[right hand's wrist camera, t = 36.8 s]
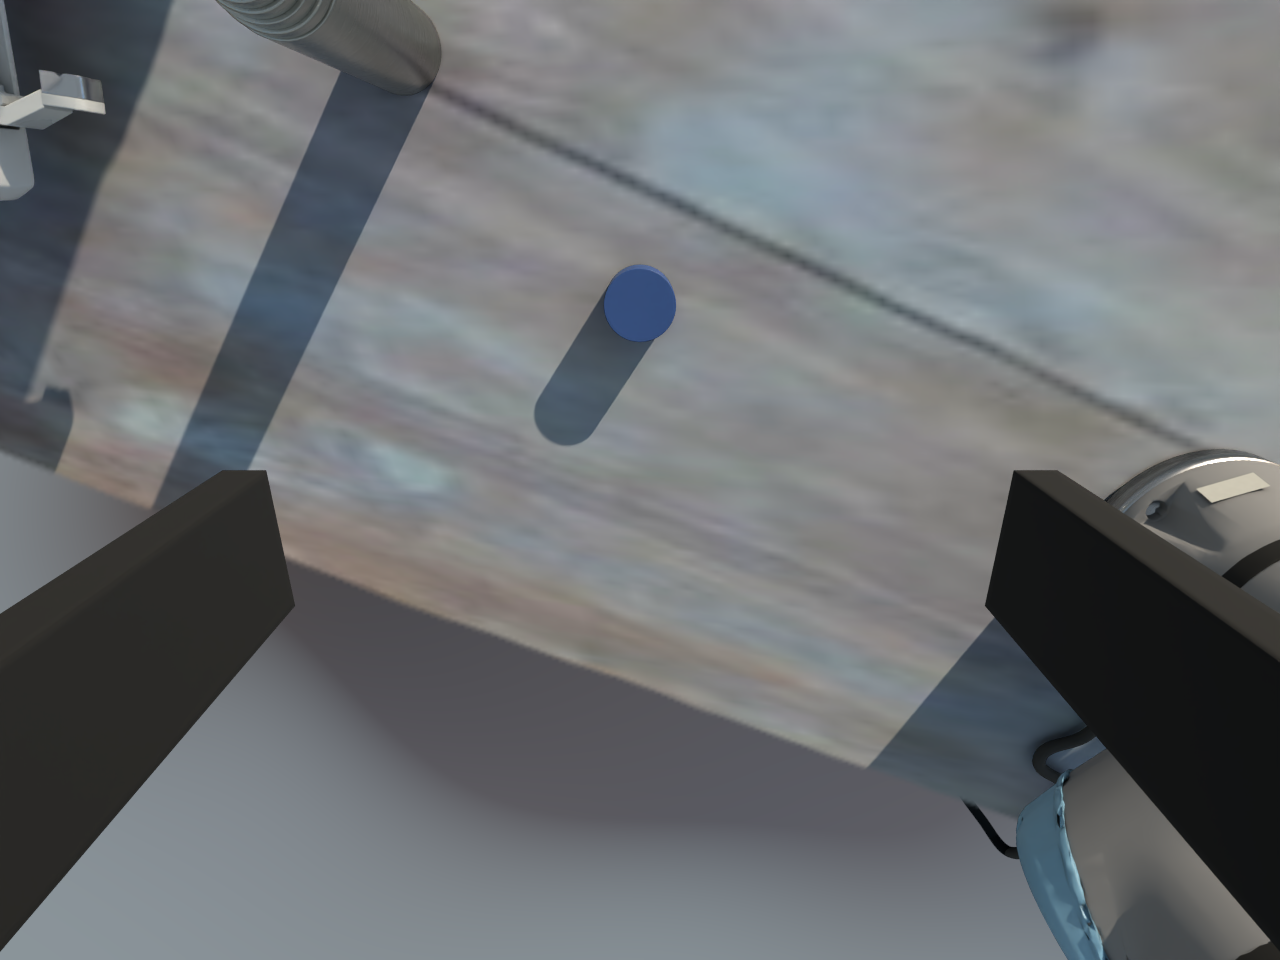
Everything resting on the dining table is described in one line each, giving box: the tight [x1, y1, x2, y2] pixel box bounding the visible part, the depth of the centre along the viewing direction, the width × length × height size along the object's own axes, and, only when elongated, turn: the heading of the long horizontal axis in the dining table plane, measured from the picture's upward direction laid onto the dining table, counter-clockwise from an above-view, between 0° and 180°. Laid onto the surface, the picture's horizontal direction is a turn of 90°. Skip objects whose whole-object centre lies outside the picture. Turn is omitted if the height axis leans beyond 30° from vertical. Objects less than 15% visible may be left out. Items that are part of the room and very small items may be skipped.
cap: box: [604, 265, 676, 342], centre depth 41 cm, size 4×4×2 cm
